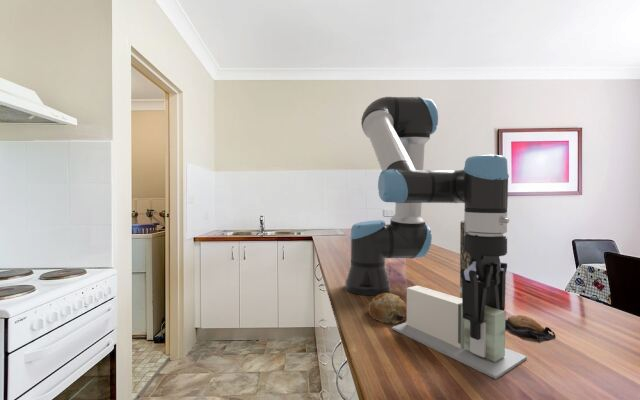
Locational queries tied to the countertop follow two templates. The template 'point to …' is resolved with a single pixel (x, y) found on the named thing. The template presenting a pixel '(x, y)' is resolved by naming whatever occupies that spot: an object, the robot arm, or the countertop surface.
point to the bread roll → (388, 308)
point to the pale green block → (490, 333)
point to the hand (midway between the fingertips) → (484, 350)
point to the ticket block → (448, 330)
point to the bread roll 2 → (528, 328)
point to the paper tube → (463, 254)
